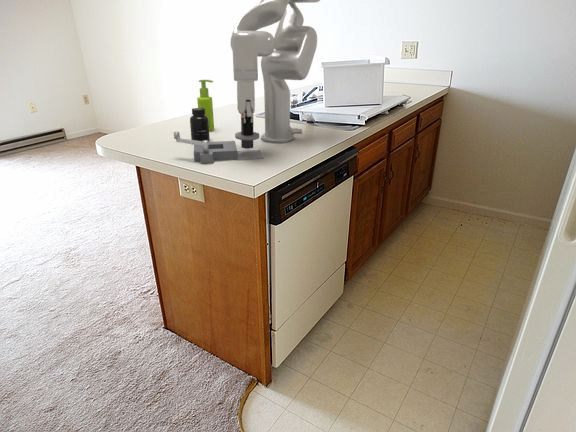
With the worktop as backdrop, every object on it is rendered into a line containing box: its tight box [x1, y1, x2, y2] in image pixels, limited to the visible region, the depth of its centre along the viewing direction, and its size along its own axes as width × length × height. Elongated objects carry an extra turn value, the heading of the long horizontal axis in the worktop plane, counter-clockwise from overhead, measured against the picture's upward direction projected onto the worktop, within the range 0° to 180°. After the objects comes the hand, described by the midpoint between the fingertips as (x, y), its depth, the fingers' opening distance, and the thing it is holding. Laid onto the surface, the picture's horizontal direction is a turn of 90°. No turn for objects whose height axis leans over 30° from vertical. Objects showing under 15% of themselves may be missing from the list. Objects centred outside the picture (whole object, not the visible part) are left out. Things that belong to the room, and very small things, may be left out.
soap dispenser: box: [196, 79, 215, 133], centre depth 167 cm, size 6×7×20 cm
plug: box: [234, 113, 260, 150], centre depth 137 cm, size 8×8×11 cm
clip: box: [173, 131, 209, 153], centre depth 134 cm, size 2×13×5 cm, turn 66°
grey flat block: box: [193, 140, 238, 165], centre depth 139 cm, size 14×14×3 cm
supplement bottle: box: [189, 107, 211, 142], centre depth 154 cm, size 7×7×12 cm
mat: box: [235, 149, 264, 161], centre depth 141 cm, size 9×9×1 cm
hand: (247, 132), depth 137 cm, fingers closed on plug, 4 cm apart
